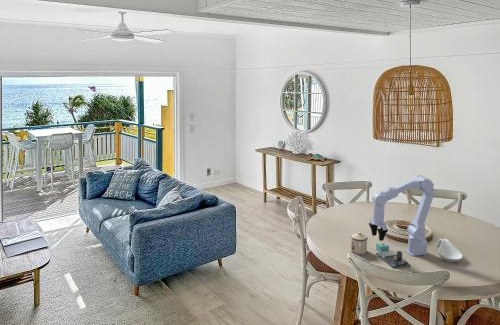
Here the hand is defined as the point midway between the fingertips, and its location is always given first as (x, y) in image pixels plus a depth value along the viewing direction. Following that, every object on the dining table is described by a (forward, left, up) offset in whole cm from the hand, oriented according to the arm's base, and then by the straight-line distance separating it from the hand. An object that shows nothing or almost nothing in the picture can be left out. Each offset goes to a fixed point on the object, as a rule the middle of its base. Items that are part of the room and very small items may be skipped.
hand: (377, 237), depth 221 cm
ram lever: (-4, +14, -8) cm, 17 cm away
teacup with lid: (+9, -4, -10) cm, 14 cm away
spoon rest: (-36, +11, -10) cm, 39 cm away
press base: (-4, +9, -10) cm, 14 cm away
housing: (-5, -3, -10) cm, 11 cm away
